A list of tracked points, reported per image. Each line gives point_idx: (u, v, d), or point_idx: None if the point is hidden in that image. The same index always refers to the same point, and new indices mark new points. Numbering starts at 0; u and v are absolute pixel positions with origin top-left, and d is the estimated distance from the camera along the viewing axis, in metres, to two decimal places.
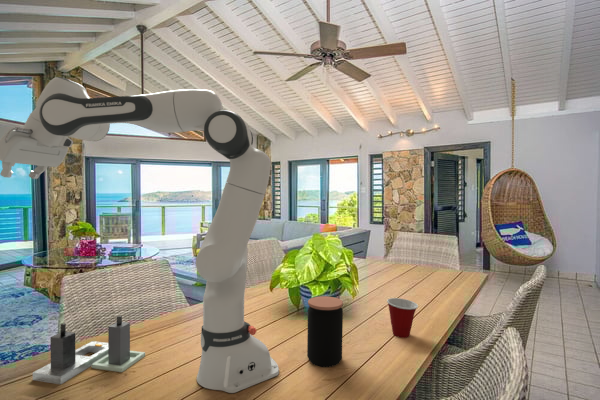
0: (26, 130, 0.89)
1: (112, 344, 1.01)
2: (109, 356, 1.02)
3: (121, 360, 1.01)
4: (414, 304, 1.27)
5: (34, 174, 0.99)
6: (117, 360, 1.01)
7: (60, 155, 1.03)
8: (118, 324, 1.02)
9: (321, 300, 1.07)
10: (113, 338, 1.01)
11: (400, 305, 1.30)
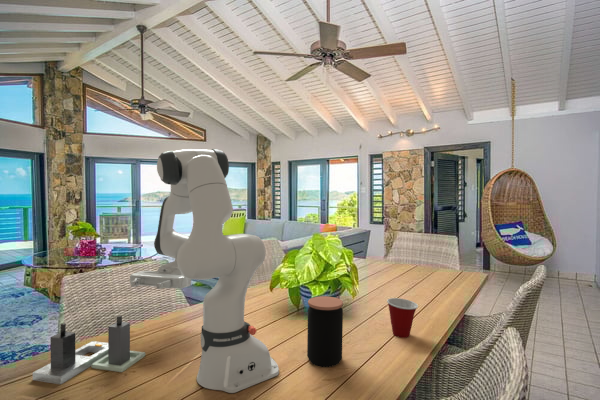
0: None
1: (112, 344, 1.01)
2: (109, 356, 1.02)
3: (121, 360, 1.01)
4: (414, 304, 1.27)
5: None
6: (117, 360, 1.01)
7: (181, 275, 1.21)
8: (118, 324, 1.02)
9: (321, 300, 1.07)
10: (113, 338, 1.01)
11: (400, 305, 1.30)
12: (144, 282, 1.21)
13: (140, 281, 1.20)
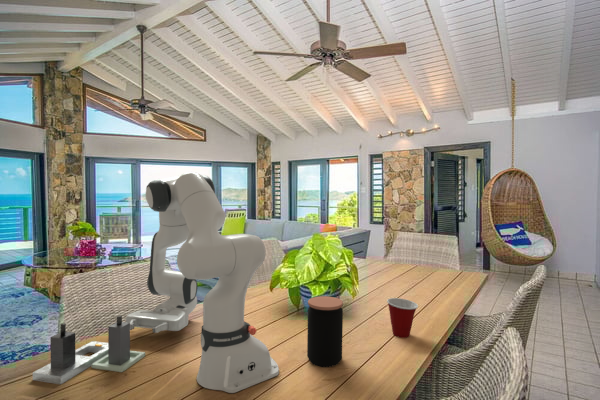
0: None
1: (112, 344, 1.01)
2: (109, 356, 1.02)
3: (121, 360, 1.01)
4: (414, 304, 1.27)
5: None
6: (117, 360, 1.01)
7: (178, 316, 1.19)
8: (118, 324, 1.02)
9: (321, 300, 1.07)
10: (113, 338, 1.01)
11: (400, 305, 1.30)
12: (140, 323, 1.19)
13: (136, 323, 1.18)
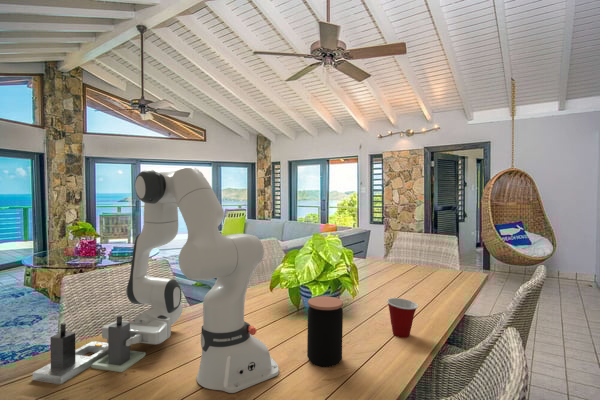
0: None
1: (112, 344, 1.01)
2: (109, 356, 1.02)
3: (121, 360, 1.01)
4: (414, 304, 1.27)
5: None
6: (117, 360, 1.01)
7: (159, 327, 1.09)
8: (118, 324, 1.02)
9: (321, 300, 1.07)
10: (113, 338, 1.01)
11: (400, 305, 1.30)
12: None
13: None
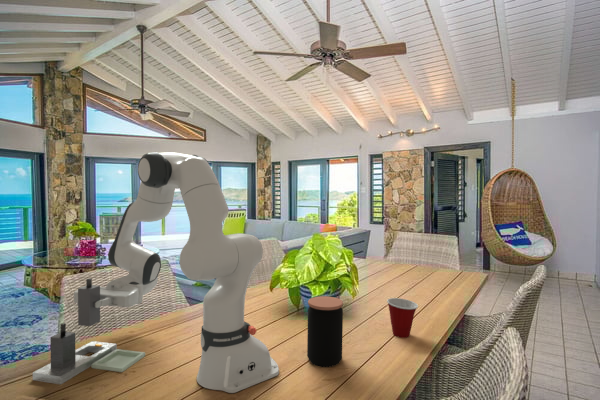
0: None
1: (81, 305, 1.03)
2: (79, 317, 1.04)
3: (90, 321, 1.03)
4: (414, 304, 1.27)
5: None
6: (87, 321, 1.03)
7: (129, 292, 1.11)
8: (88, 286, 1.04)
9: (321, 300, 1.07)
10: (82, 300, 1.03)
11: (400, 305, 1.30)
12: None
13: None
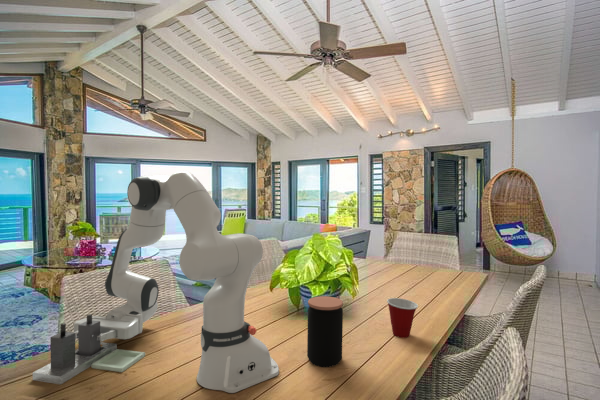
0: None
1: (82, 342, 1.04)
2: (79, 354, 1.04)
3: None
4: (414, 304, 1.27)
5: None
6: None
7: (129, 323, 1.11)
8: (88, 322, 1.05)
9: (321, 300, 1.07)
10: (82, 336, 1.04)
11: (400, 305, 1.30)
12: None
13: None
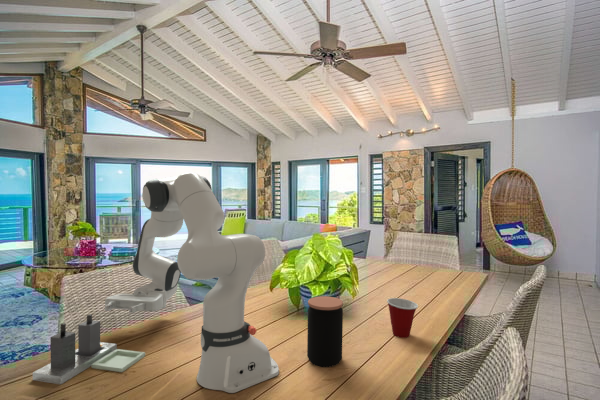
0: None
1: (82, 342, 1.04)
2: (79, 354, 1.04)
3: None
4: (414, 304, 1.27)
5: None
6: None
7: (155, 297, 1.23)
8: (88, 322, 1.05)
9: (321, 300, 1.07)
10: (82, 336, 1.03)
11: (400, 305, 1.30)
12: (119, 305, 1.23)
13: (115, 305, 1.22)
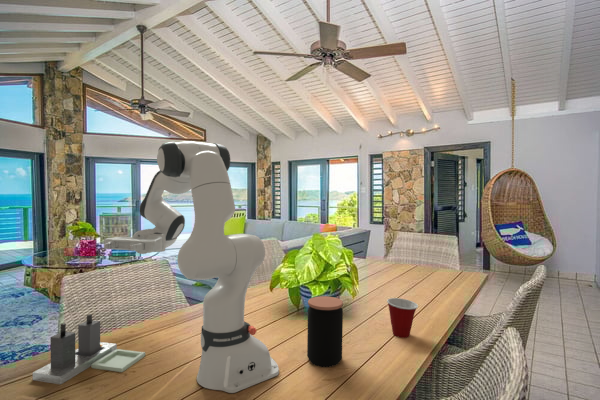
0: None
1: (82, 342, 1.04)
2: (79, 354, 1.04)
3: None
4: (414, 304, 1.27)
5: None
6: None
7: (154, 239, 1.23)
8: (88, 322, 1.05)
9: (321, 300, 1.07)
10: (82, 336, 1.03)
11: (400, 305, 1.30)
12: (118, 246, 1.23)
13: (114, 245, 1.22)
